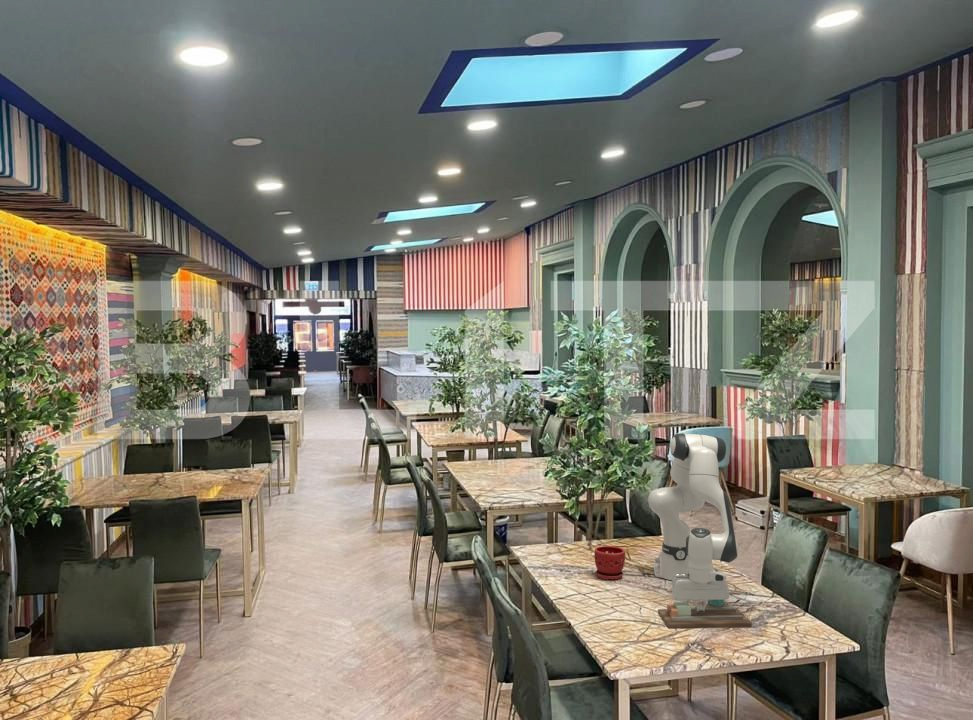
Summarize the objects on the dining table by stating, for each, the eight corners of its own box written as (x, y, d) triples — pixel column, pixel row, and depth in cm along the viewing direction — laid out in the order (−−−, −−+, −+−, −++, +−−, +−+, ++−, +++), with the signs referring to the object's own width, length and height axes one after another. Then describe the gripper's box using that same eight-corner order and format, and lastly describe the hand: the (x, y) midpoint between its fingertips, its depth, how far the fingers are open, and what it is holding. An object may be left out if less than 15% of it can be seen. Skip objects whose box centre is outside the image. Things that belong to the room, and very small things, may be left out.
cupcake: (713, 609, 272) (713, 578, 271) (700, 601, 280) (700, 571, 280) (732, 607, 274) (732, 576, 274) (719, 599, 282) (720, 569, 282)
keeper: (673, 613, 264) (673, 601, 264) (686, 613, 264) (686, 601, 264) (677, 619, 259) (677, 606, 259) (691, 618, 259) (691, 606, 259)
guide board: (658, 613, 268) (658, 600, 268) (737, 612, 269) (737, 598, 269) (668, 628, 255) (668, 614, 254) (751, 627, 255) (751, 613, 255)
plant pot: (627, 581, 304) (627, 553, 303) (596, 581, 304) (596, 553, 303) (622, 571, 317) (622, 544, 316) (592, 571, 317) (592, 544, 317)
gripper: (674, 577, 258) (674, 614, 259) (730, 576, 258) (730, 614, 259) (669, 571, 264) (669, 608, 265) (724, 570, 265) (724, 607, 265)
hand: (700, 611), depth 262 cm, fingers closed
